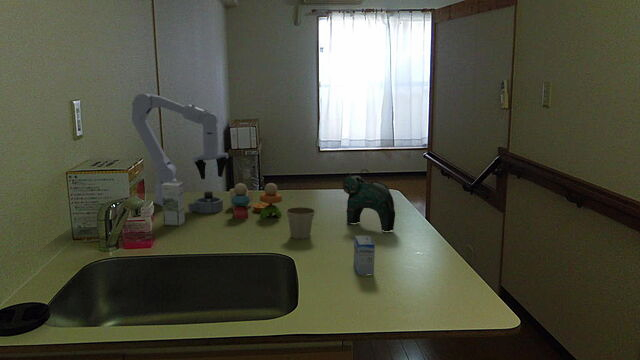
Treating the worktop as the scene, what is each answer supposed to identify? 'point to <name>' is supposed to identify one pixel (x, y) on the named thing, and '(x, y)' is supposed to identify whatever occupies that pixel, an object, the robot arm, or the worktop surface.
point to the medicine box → (364, 255)
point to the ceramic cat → (369, 200)
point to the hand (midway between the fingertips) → (211, 177)
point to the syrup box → (173, 203)
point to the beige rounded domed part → (234, 194)
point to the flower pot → (300, 221)
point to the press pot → (206, 205)
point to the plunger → (208, 195)
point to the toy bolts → (263, 208)
